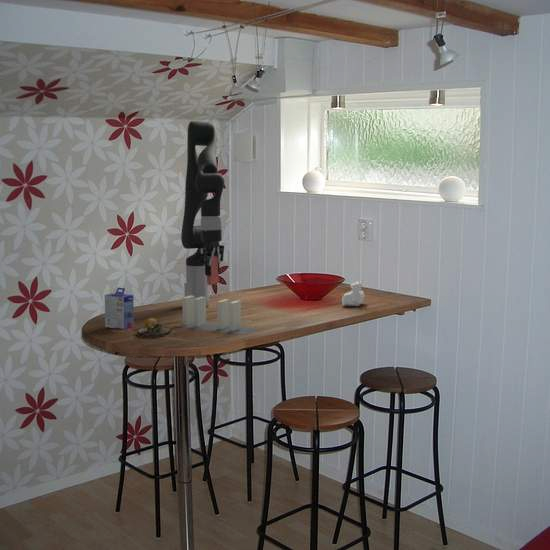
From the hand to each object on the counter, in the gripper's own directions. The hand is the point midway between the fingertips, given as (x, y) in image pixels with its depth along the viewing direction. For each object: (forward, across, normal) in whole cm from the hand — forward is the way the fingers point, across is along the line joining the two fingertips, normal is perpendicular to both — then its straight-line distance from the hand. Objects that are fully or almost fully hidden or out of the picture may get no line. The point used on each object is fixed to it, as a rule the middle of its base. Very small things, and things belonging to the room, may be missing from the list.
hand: (212, 274), depth 279 cm
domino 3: (+18, +6, +8) cm, 21 cm away
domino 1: (+18, +6, -7) cm, 20 cm away
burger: (+19, +22, -11) cm, 31 cm away
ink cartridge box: (+18, +20, -28) cm, 39 cm away
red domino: (+4, 0, 0) cm, 4 cm away
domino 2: (+18, +6, -2) cm, 19 cm away
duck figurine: (+19, -56, +34) cm, 68 cm away
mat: (+19, +6, +5) cm, 20 cm away
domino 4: (+18, +6, +13) cm, 23 cm away
